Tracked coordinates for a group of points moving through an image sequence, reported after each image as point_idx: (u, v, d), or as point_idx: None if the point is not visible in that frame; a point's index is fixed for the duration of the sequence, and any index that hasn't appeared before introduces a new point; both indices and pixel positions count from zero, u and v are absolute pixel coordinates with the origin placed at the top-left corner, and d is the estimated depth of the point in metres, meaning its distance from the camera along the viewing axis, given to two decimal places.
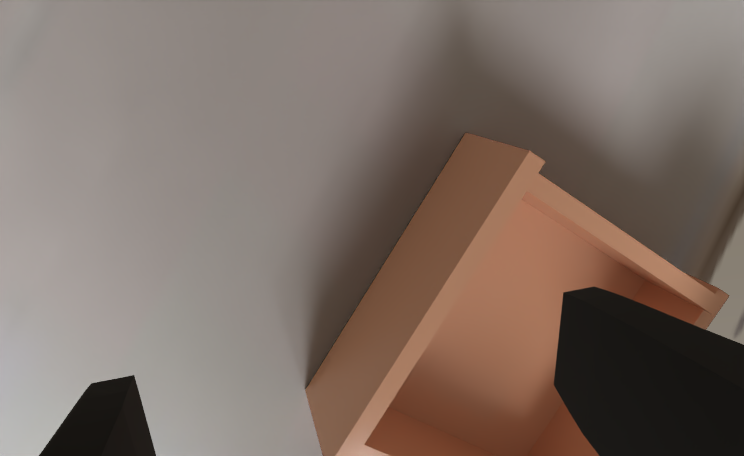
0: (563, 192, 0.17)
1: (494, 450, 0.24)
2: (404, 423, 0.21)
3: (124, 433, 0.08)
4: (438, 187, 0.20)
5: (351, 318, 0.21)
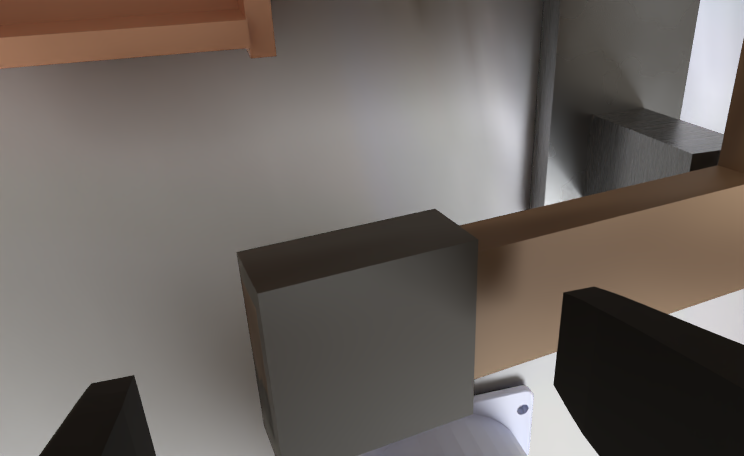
0: None
1: (180, 6, 0.16)
2: None
3: (124, 433, 0.08)
4: None
5: None
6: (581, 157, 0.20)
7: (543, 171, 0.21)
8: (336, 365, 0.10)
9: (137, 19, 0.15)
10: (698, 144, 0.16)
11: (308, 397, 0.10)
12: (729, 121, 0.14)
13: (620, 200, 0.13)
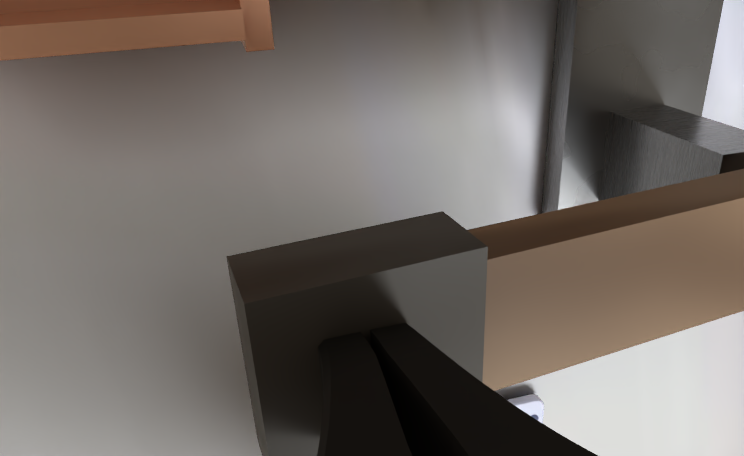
0: None
1: None
2: None
3: None
4: None
5: None
6: (597, 157, 0.19)
7: (557, 171, 0.19)
8: None
9: (122, 9, 0.13)
10: (728, 144, 0.15)
11: (301, 413, 0.10)
12: None
13: (645, 204, 0.12)
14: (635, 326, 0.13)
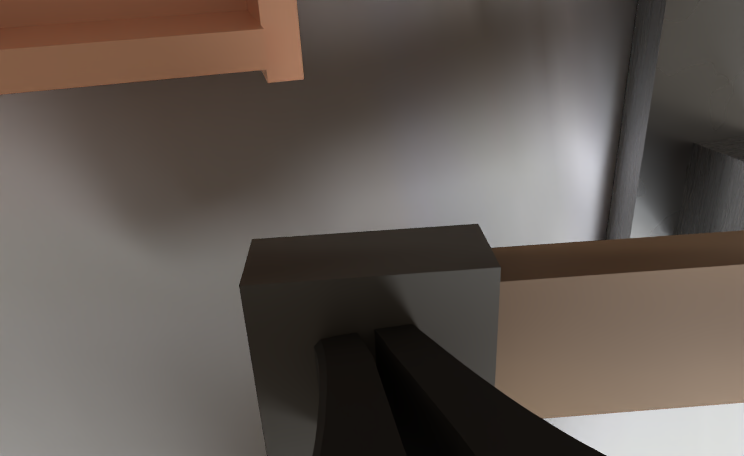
0: None
1: (168, 7, 0.12)
2: None
3: None
4: None
5: None
6: (676, 195, 0.16)
7: (628, 212, 0.16)
8: None
9: (107, 26, 0.10)
10: None
11: (295, 400, 0.10)
12: None
13: (730, 246, 0.10)
14: (701, 384, 0.11)
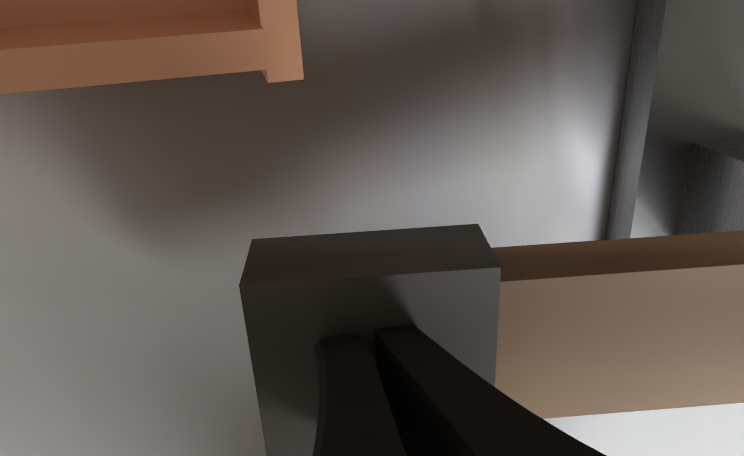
0: None
1: (168, 7, 0.12)
2: None
3: None
4: None
5: None
6: (676, 195, 0.16)
7: (628, 212, 0.16)
8: None
9: (107, 26, 0.10)
10: None
11: (295, 400, 0.10)
12: None
13: (730, 246, 0.10)
14: (701, 384, 0.11)
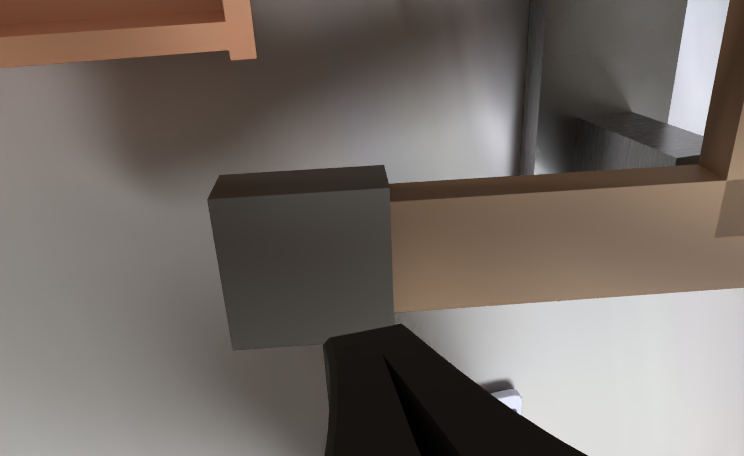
0: None
1: (162, 8, 0.16)
2: None
3: None
4: None
5: None
6: (568, 160, 0.20)
7: (530, 174, 0.20)
8: (270, 267, 0.14)
9: (117, 21, 0.15)
10: (683, 148, 0.16)
11: (249, 288, 0.14)
12: (710, 122, 0.15)
13: (564, 181, 0.15)
14: (548, 283, 0.15)
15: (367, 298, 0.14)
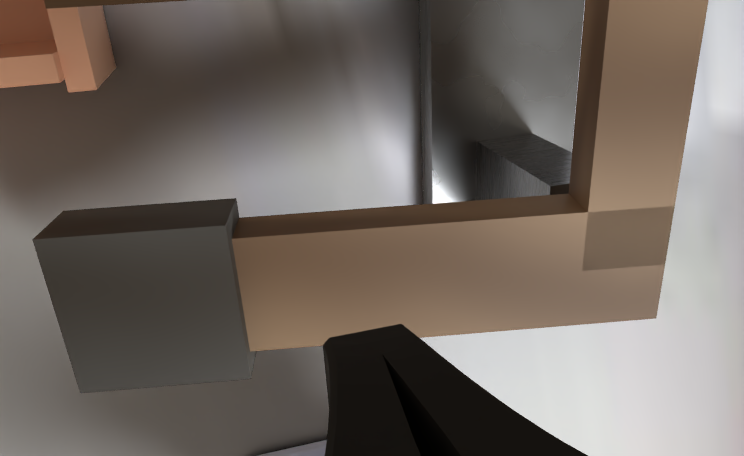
0: None
1: (17, 36, 0.15)
2: None
3: None
4: None
5: None
6: (469, 184, 0.20)
7: (430, 199, 0.20)
8: (108, 307, 0.13)
9: None
10: (562, 175, 0.16)
11: (88, 329, 0.13)
12: (576, 150, 0.14)
13: (423, 213, 0.14)
14: (411, 320, 0.14)
15: (216, 338, 0.14)
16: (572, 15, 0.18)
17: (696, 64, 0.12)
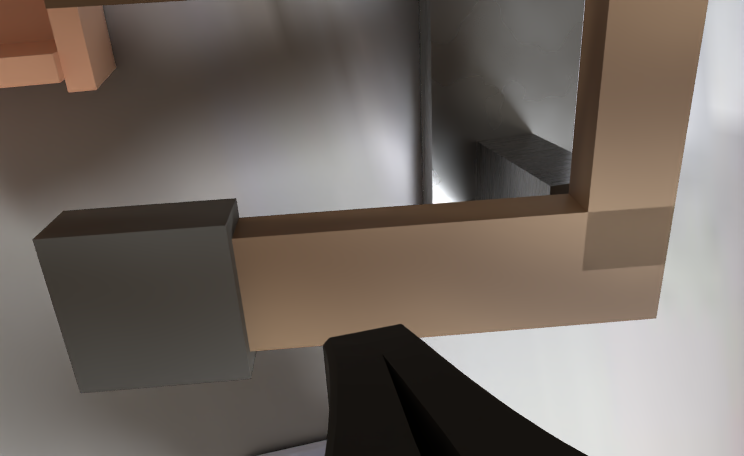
0: None
1: (17, 36, 0.15)
2: None
3: None
4: None
5: None
6: (469, 184, 0.20)
7: (430, 199, 0.20)
8: (108, 307, 0.13)
9: None
10: (562, 175, 0.16)
11: (88, 329, 0.13)
12: (576, 150, 0.14)
13: (423, 213, 0.14)
14: (411, 320, 0.14)
15: (216, 338, 0.14)
16: (572, 15, 0.18)
17: (696, 64, 0.12)
